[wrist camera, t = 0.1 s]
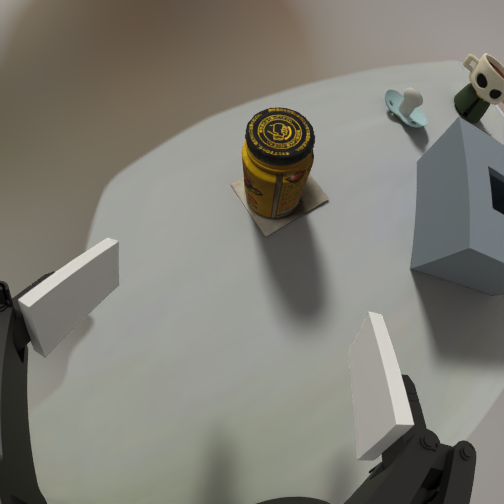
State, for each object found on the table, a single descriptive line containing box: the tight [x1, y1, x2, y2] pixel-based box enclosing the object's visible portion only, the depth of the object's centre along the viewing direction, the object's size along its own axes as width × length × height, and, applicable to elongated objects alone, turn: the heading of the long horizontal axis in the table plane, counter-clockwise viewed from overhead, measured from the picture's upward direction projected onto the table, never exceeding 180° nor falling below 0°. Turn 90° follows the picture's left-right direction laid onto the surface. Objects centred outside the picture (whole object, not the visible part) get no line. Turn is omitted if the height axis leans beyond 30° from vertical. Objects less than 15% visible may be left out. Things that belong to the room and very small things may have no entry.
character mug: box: [454, 53, 504, 123], centre depth 28 cm, size 11×7×13 cm, turn 49°
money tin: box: [410, 117, 504, 296], centre depth 25 cm, size 15×16×11 cm
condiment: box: [231, 108, 329, 237], centre depth 25 cm, size 7×8×12 cm
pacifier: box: [385, 88, 427, 128], centre depth 31 cm, size 7×6×6 cm
